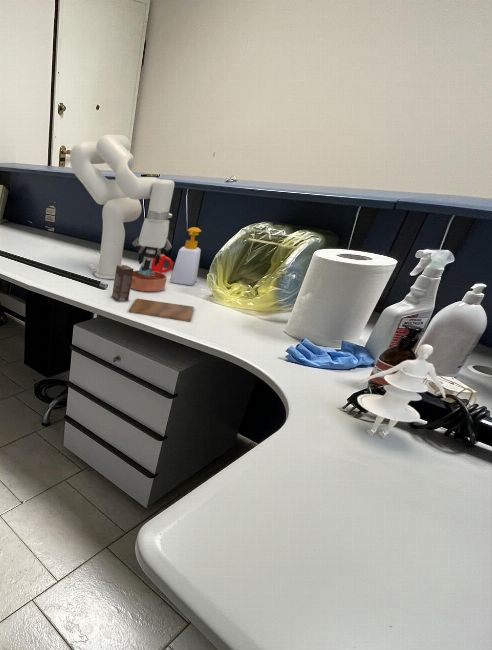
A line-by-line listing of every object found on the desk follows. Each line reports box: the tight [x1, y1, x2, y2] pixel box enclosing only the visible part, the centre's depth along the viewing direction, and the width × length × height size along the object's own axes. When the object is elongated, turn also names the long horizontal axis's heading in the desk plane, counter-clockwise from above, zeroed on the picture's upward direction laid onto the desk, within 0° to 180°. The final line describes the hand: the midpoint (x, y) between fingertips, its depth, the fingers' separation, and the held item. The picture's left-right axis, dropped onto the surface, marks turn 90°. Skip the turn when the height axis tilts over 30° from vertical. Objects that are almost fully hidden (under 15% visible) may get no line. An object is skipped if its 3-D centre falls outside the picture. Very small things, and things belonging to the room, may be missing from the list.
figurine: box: [356, 343, 446, 440], centre depth 77 cm, size 13×10×20 cm
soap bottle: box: [169, 226, 202, 286], centre depth 167 cm, size 10×14×22 cm
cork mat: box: [128, 298, 194, 322], centre depth 143 cm, size 20×14×1 cm
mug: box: [150, 252, 173, 274], centre depth 185 cm, size 8×12×8 cm, turn 57°
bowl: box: [130, 269, 168, 293], centre depth 166 cm, size 15×15×5 cm
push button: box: [138, 248, 158, 276], centre depth 163 cm, size 7×5×10 cm
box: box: [111, 264, 135, 302], centre depth 151 cm, size 6×4×12 cm
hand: (148, 263), depth 163 cm, fingers closed on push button, 5 cm apart
